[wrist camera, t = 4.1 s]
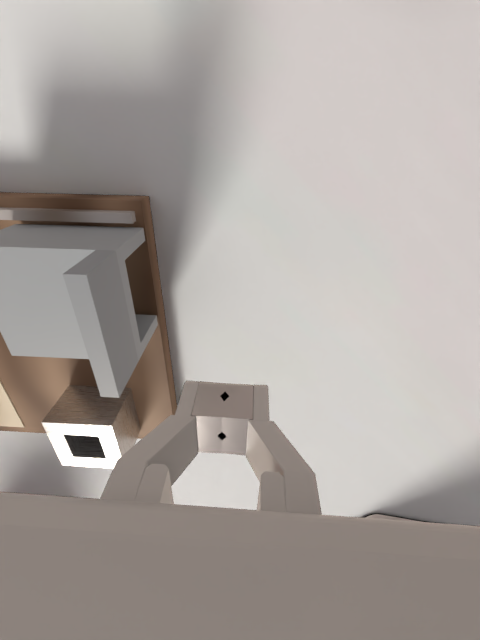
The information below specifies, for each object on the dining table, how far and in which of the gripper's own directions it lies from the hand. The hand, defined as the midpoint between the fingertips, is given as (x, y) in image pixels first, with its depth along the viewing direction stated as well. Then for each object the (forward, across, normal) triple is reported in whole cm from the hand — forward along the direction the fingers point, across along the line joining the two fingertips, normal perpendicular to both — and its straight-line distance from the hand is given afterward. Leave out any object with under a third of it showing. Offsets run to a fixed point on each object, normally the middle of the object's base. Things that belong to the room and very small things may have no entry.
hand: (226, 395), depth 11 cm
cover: (+10, +10, 0) cm, 14 cm away
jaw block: (+11, +12, +14) cm, 21 cm away
